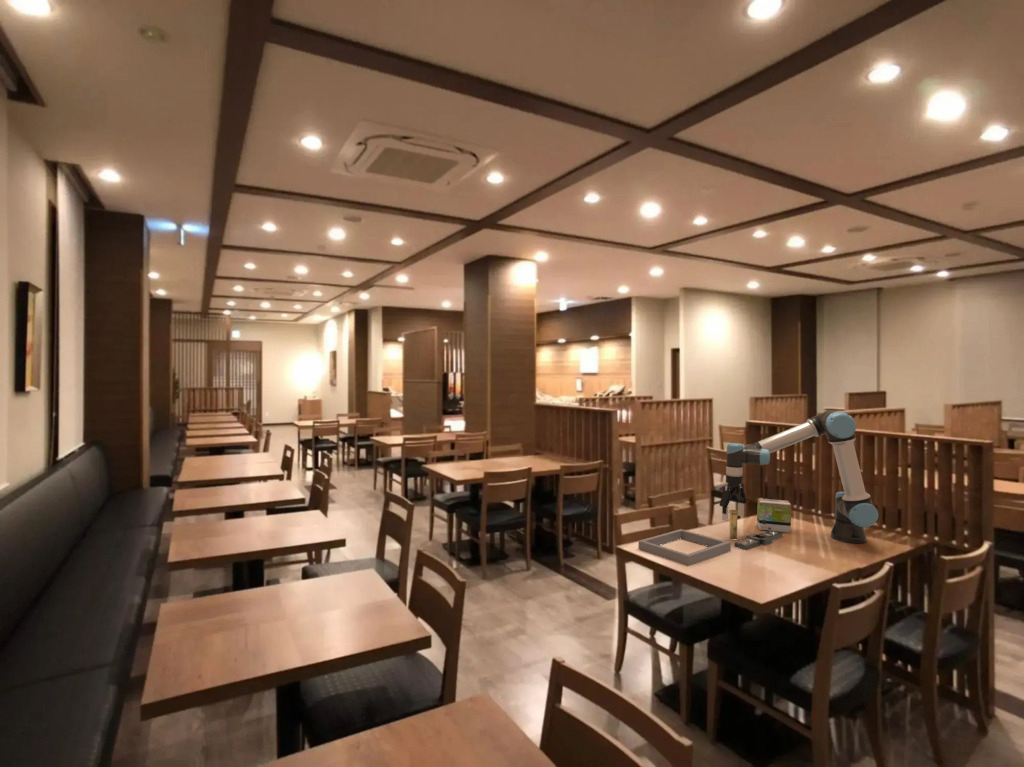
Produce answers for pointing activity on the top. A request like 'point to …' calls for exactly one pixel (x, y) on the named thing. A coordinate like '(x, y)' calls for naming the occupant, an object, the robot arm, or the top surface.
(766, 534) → the chain ends
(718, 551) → the frame
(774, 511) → the tea box
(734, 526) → the pin
